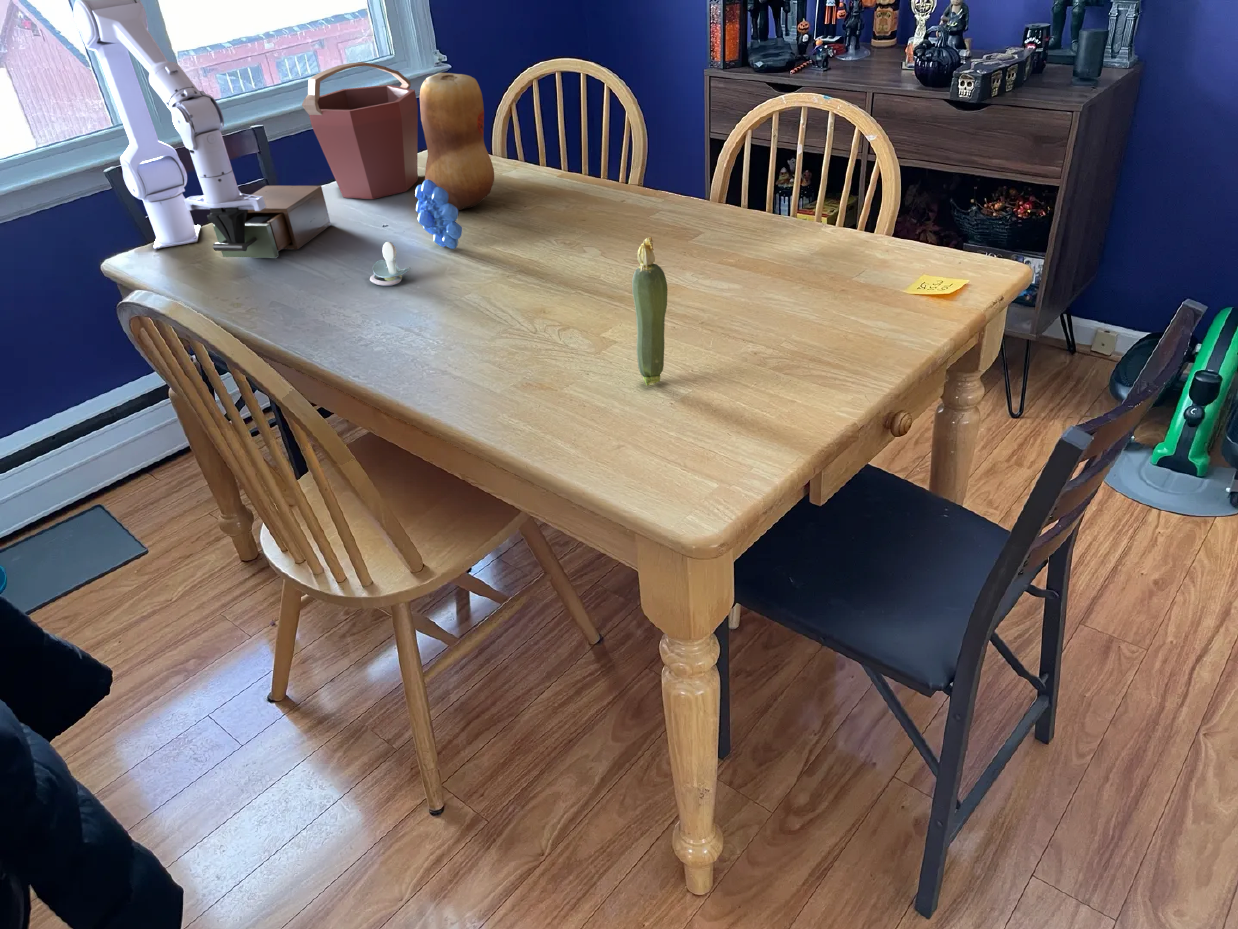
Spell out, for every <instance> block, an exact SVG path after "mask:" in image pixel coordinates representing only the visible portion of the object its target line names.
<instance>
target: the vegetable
mask: <svg viewBox="0 0 1238 929" xmlns="http://www.w3.org/2000/svg"><path fill="white" fill-rule="evenodd" d="M652 242H653V243H654V241H653V238H652V237H649V236H648V237H646V238H645V239H644V240H643V243H641V244H640V246H639V248H638V250H637V254H636V255H637V256H636V259H637V262H638V264H640V265H639V266H638V267H637V268H635V270H634V273H633V275H632V279H631V289H632V298H633V304H634V310H635V319H636V320H635V321H636V322H635V323H636V359H637V367H638V372H639V373H640V375H641V376H642V378H643V381H644V383H645V385H646V386H647V387H648V386H649V385H651V384H656V383H658V382H661V374H662V373H663V371H664V366H665V342H666V341H665V322H666V320H665V319H666V313H667V307H668V291H669V290H668V282H667V277H666V275H665V272H664V270H663V269H662V267H661V266H659V264H656V263H655V262H656V255H655V252H654V251H655V249H654V246H653V243H652Z"/></svg>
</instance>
